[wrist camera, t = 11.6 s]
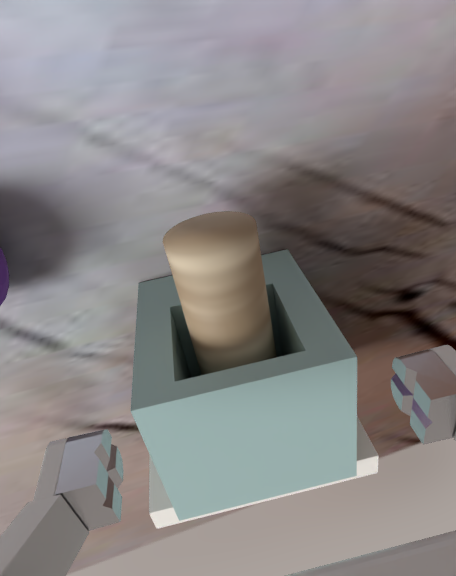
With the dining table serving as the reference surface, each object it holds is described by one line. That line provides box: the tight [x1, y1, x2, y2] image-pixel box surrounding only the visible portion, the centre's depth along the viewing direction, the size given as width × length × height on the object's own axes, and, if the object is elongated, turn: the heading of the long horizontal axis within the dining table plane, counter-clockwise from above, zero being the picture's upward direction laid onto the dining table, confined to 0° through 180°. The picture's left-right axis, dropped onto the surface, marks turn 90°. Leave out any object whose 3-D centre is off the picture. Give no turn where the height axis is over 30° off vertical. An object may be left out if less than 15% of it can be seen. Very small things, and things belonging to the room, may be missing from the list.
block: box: [131, 249, 357, 521], centre depth 22 cm, size 8×9×10 cm
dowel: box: [163, 211, 277, 375], centre depth 20 cm, size 10×4×4 cm, turn 10°
